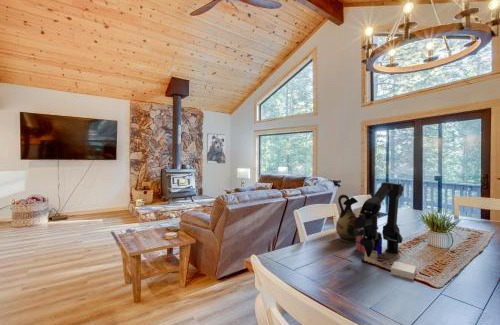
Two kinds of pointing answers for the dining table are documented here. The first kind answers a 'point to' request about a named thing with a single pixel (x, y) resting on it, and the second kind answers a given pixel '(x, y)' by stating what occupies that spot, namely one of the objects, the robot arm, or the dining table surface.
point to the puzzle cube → (362, 248)
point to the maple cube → (371, 257)
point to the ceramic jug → (347, 220)
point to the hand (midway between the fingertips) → (370, 254)
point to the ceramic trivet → (403, 270)
